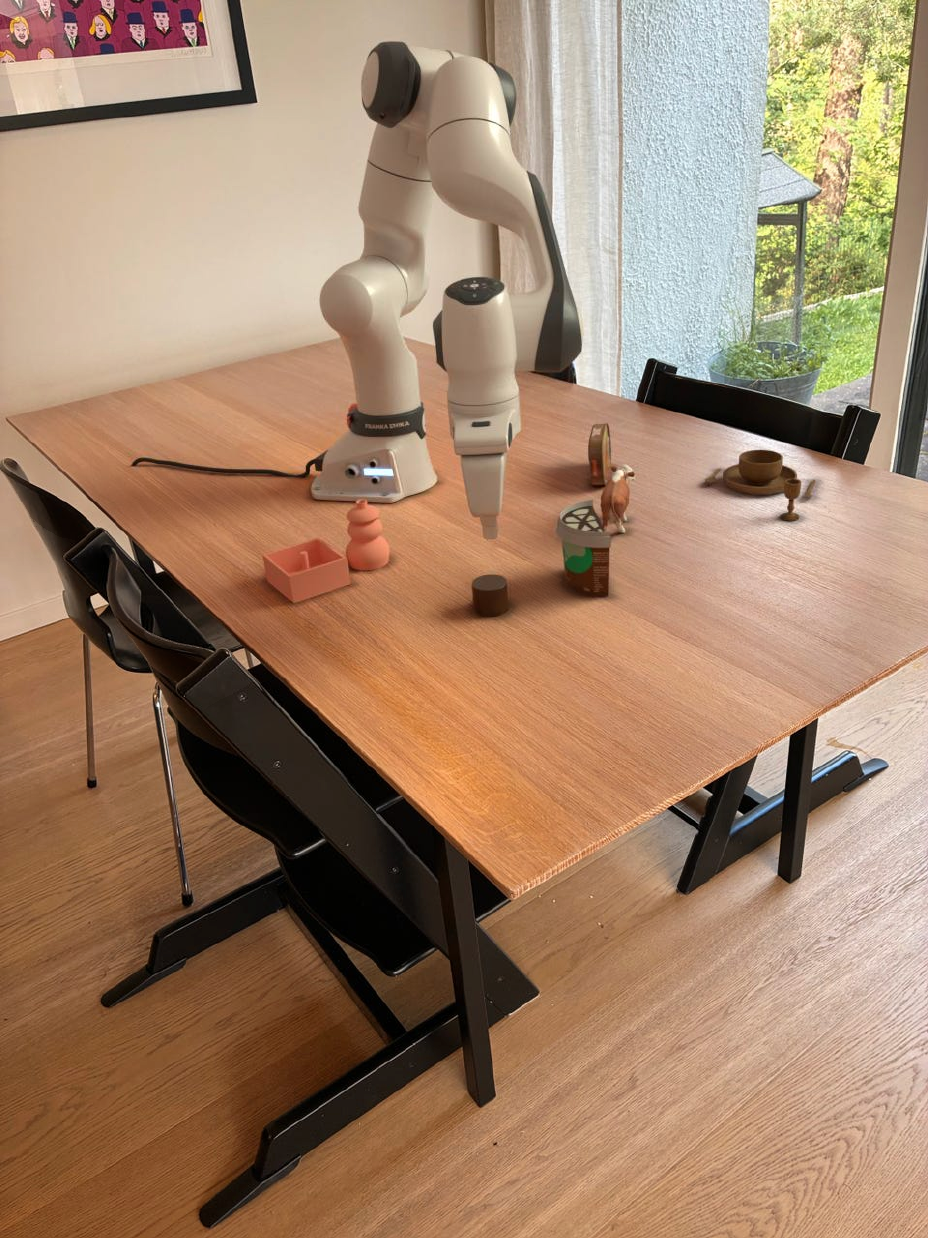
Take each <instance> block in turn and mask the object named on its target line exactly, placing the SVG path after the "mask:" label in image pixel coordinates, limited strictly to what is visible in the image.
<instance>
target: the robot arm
mask: <svg viewBox="0 0 928 1238" xmlns="http://www.w3.org/2000/svg"><path fill="white" fill-rule="evenodd" d="M360 93H361V104H362V107H363V109H364V111H365V113H366V115H367V117H368V118H369V119H370V120H372V121H373V122H375V123H376V126H375V128H374V132H373V135H372V139H371V141H370V146H369V151H368V156H367V160H366V164H365V165H366V166H365V170H364V176H363V181H362V186H361V190H360V195H359V196H360V197H359V201H358V206H357V208H358V209H357V212H358V215H359V218H360V220H361V221H362V224H363V238H364V239H363V249H362V253H361V254H360V256H359V258H358V259H356V260H353V261H352V262H349V263H346V264H344V265H342V266H340V267H339V268H337V269H336V270H335V272H334V273H332V274H331V275H330V276H329V277H328V278H327V279H326V280H325V282H324V283H323V285H322V287H321V288H320V292H319V301H318V302H319V308H320V312H321V314H322V317H323V319H324V321H325V322H326V324H327V325H328V326H329V327H330V328H331V329H332V330H333V331H335V332H336V334H338V336H339V338H340V340H341V342H342V344H343V346H344V349H345V352H346V354H347V357H348V360H349V363H350V368H351V373H352V379H353V387H354V392H355V400H356V402H355V403H352V404H350V406H349V408H348V409H347V414H346V426H347V427H348V431H345V433H344V434H343V435H341V437H339V439H337V440H336V441H335V442H334V443H333V444H332V445H331V446H330V447H329V448H327V449H326V450H324V451H323V452H321V454H319V455H318V456H317V457H315V458H313V459H311V460H309V461H308V462H307V463H306V464H305V470H304V471H305V472H303V473H300V474H291V473H286V472H283V471H280V470H275V469H267V468H225V467H224V468H222V467H212V466H203V465H195V464H189V463H188V464H187V463H184V462H183V463H182V462H177V461H172V460H165V459H156V458H151V457H146V456H145V457H138V458H136V459H135V460H134V461H133V462H132V463H131V467H137V465H138V464H140V463H151V464H154V465H163V466H171V467H176V468H181V469H186V470H192V471H202V472H209V473H219V474H233V475H235V474H237V475H238V474H240V475H242V474H244V475H245V474H246V475H254V474H255V475H272V476H277V477H282V478H295V479H305V478H307V477H308V476H310V474H311V467H312V466H313V465H314V469H315V472H320V474H318V475H317V476H316V477H315V478H314V480H313V482H312V484H311V487H310V490H311V491H310V492H311V496H312V498H313V499H315V500H319V501H338V502H339V501H341V502H342V501H343V502H356V501H357V500H361V499H365V500H367V503H383V504H384V503H385V504H390V503H396V502H398V501H400V500H402V499H405V498H406V497H409V496H414V495H417V494H420V493H422V492H425V491H427V490H429V489H430V488H432V487H434V486H435V484H437V481H438V476H437V474H436V472H435V469H434V467H433V463H432V459H431V456H430V452H429V447H428V443H427V437H426V436H427V431H428V429H427V428H428V427H427V419H426V418H427V417H426V410H425V406H424V405H425V404H424V402H423V401H422V398H421V389H420V388H421V387H420V379H419V378H420V377H419V370H418V369H419V366H418V360H417V358H416V356H415V354H414V353H413V352H412V351H411V350H409V347H408V346H407V343H406V341H405V338H404V335H403V333H402V329H401V318H403V317H404V316H406V315H408V314H409V313H411V312H413V311H414V310H415V309H416V308H417V307H418V305H420V303H421V302H422V301H423V299H424V297H425V296H426V294H427V293H428V290H429V286H430V274H429V270H428V267H427V266H426V265H427V264H426V246H427V241H426V240H427V233H428V232H427V231H428V225H429V220H430V216H431V211H432V206H433V203H434V199H435V194H436V196H437V197H438V198H439V199H440V200H441V201H442V202H443V203H444V204H445V205H446V206H447V207H448V208H450V209H451V210H453V211H455V212H456V213H457V214H460V215H462V216H464V217H467V218H469V219H473V220H478V221H482V222H486V223H489V224H493V225H495V226H499V227H501V228H503V229H506V230H508V231H511V232H512V233H514V234H515V235H516V236H518V237H519V238H520V240H521V241H522V242H523V245H524V248H525V250H526V254H527V258H528V262H529V265H530V269H531V274H532V278H533V281H534V284H535V289H534V290H532V291H529V292H520V293H519V292H518V293H509V291H508V288H507V286H506V284H505V283H504V282H502V281H501V280H499V279H497V278H494V277H487V276H472V277H465V278H462V279H460V280H456V281H455V282H452V283H451V284H449V285H448V286H447V287H446V288H445V289H444V291H443V294H442V305H441V309H440V311H439V312H438V314H437V315H436V317H435V318H434V319H433V322H432V331H433V337H434V346H435V359H436V362H435V363H436V364H437V365H438V367H440V368H441V369H442V370H443V371H444V372H445V373H446V374H447V378H448V385H447V390H446V401H447V413H448V422H449V423H448V424H449V434H450V437H451V438H452V440H453V448H454V454H455V455H456V456H460V466H461V472H462V478H463V483H464V490H465V494H466V495H465V496H466V501H467V506H468V509H469V512H470V514H471V516H472V518H473V517H474V518H479V520H480V523H481V524H480V525H481V527H482V537H483V538H484V539H485V540H496V539H498V535H499V529H498V528H499V527H498V517H499V516H500V515H501V513H502V507H503V496H504V495H503V494H504V486H505V478H506V470H507V468H506V467H507V458H508V452H509V451H510V448H511V445H512V443H513V440H515V437H516V436H517V435H518V434H519V433H520V432H521V431H522V420H521V419H522V418H521V416H522V415H521V401H520V388H519V384H518V382H517V379H516V373H529V372H535V373H562V372H563V371H564V370H565V369H567V368H568V367H569V366H570V365H571V364H573V362H574V361H575V360H576V359H577V358H578V357H579V356H580V354H581V353H582V351H583V350H582V349H583V343H584V324H583V319H582V315H581V312H580V309H579V307H578V305H577V302H576V300H575V297H574V294H573V291H572V288H571V285H570V282H569V278H568V275H567V271H566V267H565V263H564V260H563V256H562V253H561V248H560V245H559V241H558V236H557V232H556V230H555V225H554V222H553V219H552V215H551V211H550V208H549V205H548V201H547V199H546V195H545V192H544V189H543V187H542V183H541V182H540V180H539V179H538V177H537V175H536V174H534V173H532V172H531V171H528V170H526V169H525V168H524V167H523V166H522V165H521V163H520V162H519V161H518V159H517V158H516V156H515V154H514V151H513V148H512V141H511V140H512V139H511V129H510V128H511V127H512V124H513V122H514V121H513V120H514V117H515V115H516V108H517V97H518V96H517V88H516V85H515V81H514V79H513V76H512V75H511V74H510V73H509V72H508V71H507V70H506V69H504V68H502V67H501V66H499V65H497V64H494V63H493V62H490V61H489V62H487V61H485V60H484V59H481V58H479V57H476V56H470V55H466V54H463V53H461V52H456V51H452V50H449V49H446V50H443V49H438V48H434V47H433V48H432V47H429V46H428V47H426V46H419V45H412V44H411V45H409V44H407V43H405V42H404V41H395V40H392V41H391V40H389V41H381V42H379V43H377V45H376V46H374V47H373V48H372V49H371V50H370V52H369V54H368V56H367V58H366V61H365V64H364V66H363V70H362V73H361V79H360Z"/></svg>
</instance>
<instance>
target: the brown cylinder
mask: <svg viewBox="0 0 928 1238" xmlns="http://www.w3.org/2000/svg"><path fill="white" fill-rule="evenodd" d="M471 595H472V608H473V609H472V610H473V612H474V613H475V614H476V615H477V616H480V617H483V618H484V617H486V618H493V617H499V616H502V615H504V614H506V613H507V612H508V611H509V609H510V603H509V585H508V580H507V578H506V577H504V576H502V575H499V574H493V573H492V574H483V575H480V576H477V577H475V578H474V579H472V580H471Z"/></svg>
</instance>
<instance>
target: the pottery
mask: <svg viewBox="0 0 928 1238" xmlns="http://www.w3.org/2000/svg"><path fill="white" fill-rule="evenodd" d="M379 517H380V510H379V509H378V508H377V507H376V506H374V505H372V504H368V502H367V500H365V499H361V500H357V501H355V505H354V506H353V507H352V508H350V509H349V510H348V511H347V513H346V520H348V522H349V523H348V525H347V528H346V529H347V535H348V536H349V537H350V538H351V539H350V540H349V542H348V543H347V545H346V548H345V554H346V555H344V554H342V553H341V552H339V551H338V550H336V549H335V548H334V547H332V546H330V545H329V544H328V543H327V542H325V541H324V540H323V539H321V538H320V537H316V538H313V539H309V540H306V541H303V542H300V543H296V544H293V545H290V546H287V547H283V548H281V549H280V548H279V549H277V550H273V551H270V552H267V553H264V554H261V555H262V560H263V566H264V573H265V578H266V581H267V582H268V583H269V584H271V586H273V588H275V589H276V590H277V591H279V592H280V593H281V594H282V595H283V596H284V597H286V598H287V599H288V600H289V601H290V603H291V602H292V604H296V603H299V602H302V601H305V600H308V599H311V598H314V597H317V596H320V595H323V594H326V593H329V592H332V591H335V590H338V589H341V588H344V587H347V586H350V585H351V584H352V583H351V575H350V569H349V566H350V568H351V569H354V570H357V571H372V570H374V571H375V570H377V569H381V568H383V567H384V566H386V565H387V564H388V563H389V560H390V553H391V552H390V551H391V550H390V546H389V543H388V541H387V540H386V539H385V538H384V537H383V536H381V535H382V533H383V524H382V521H381V520H380V519H379Z"/></svg>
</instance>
